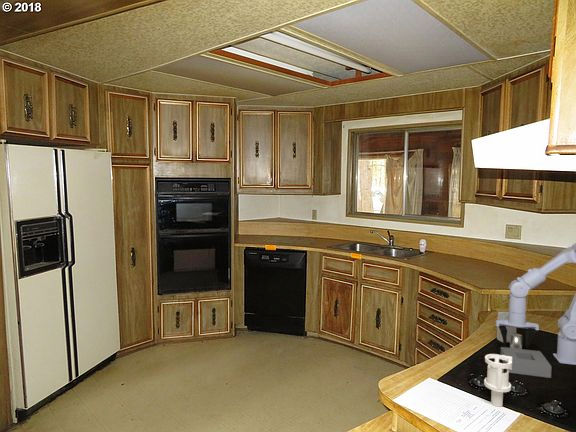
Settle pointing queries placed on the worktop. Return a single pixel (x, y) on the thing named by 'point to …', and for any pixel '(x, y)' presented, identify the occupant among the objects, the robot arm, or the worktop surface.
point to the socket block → (527, 362)
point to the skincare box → (509, 329)
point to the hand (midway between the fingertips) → (515, 345)
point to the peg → (516, 341)
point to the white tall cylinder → (497, 377)
